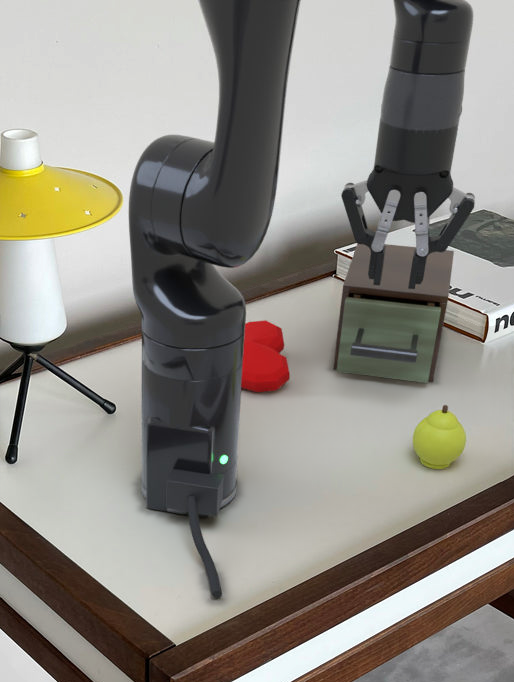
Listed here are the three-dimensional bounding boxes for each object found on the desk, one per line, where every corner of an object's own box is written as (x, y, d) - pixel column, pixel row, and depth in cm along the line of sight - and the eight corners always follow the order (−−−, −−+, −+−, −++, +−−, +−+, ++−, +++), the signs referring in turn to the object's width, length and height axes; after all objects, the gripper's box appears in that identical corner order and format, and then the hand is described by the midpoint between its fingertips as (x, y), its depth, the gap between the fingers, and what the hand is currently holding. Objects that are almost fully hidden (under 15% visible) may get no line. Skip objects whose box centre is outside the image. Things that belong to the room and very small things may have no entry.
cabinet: (432, 382, 118) (448, 296, 112) (333, 369, 121) (343, 285, 115) (439, 330, 129) (454, 250, 123) (348, 320, 132) (358, 241, 126)
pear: (460, 478, 101) (472, 421, 97) (407, 470, 102) (417, 414, 99) (462, 452, 105) (473, 396, 101) (410, 445, 106) (420, 389, 103)
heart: (204, 406, 117) (291, 399, 116) (201, 377, 114) (291, 369, 113) (200, 346, 125) (281, 338, 124) (197, 317, 122) (280, 309, 121)
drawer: (424, 406, 111) (437, 332, 106) (329, 393, 114) (338, 321, 109) (434, 334, 126) (446, 266, 121) (350, 324, 129) (358, 258, 124)
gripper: (342, 121, 97) (323, 290, 107) (494, 131, 94) (461, 305, 104) (351, 102, 103) (333, 265, 113) (495, 112, 100) (463, 278, 110)
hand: (394, 283), depth 108 cm, fingers open, 3 cm apart
